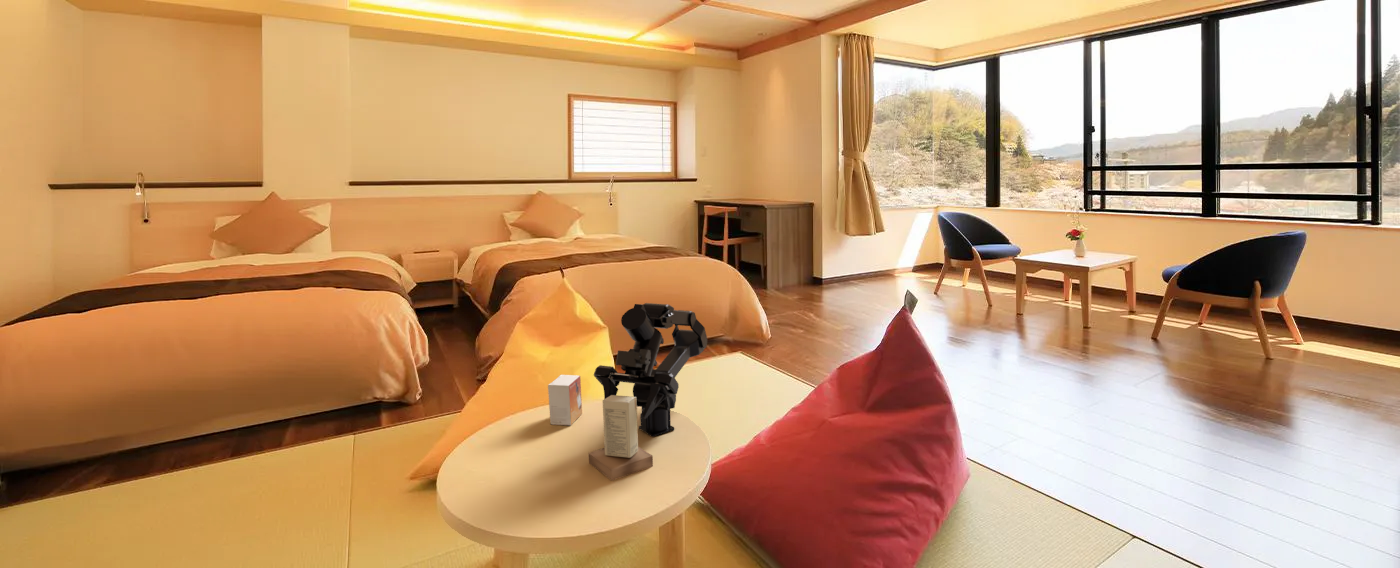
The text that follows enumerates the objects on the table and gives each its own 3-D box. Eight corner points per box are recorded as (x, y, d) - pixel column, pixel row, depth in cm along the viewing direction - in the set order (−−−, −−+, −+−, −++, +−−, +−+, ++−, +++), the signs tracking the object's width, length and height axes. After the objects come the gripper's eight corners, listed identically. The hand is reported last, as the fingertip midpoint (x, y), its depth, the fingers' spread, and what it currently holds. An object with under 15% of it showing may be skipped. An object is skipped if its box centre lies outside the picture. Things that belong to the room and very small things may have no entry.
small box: (571, 426, 157) (568, 385, 155) (549, 424, 158) (547, 384, 156) (583, 413, 165) (580, 375, 163) (562, 412, 166) (560, 374, 164)
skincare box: (638, 451, 138) (638, 396, 136) (630, 458, 134) (630, 402, 132) (611, 447, 140) (611, 393, 138) (602, 455, 136) (602, 399, 134)
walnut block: (629, 452, 144) (628, 440, 143) (653, 468, 136) (652, 455, 135) (589, 465, 138) (588, 452, 137) (611, 483, 130) (611, 469, 130)
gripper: (595, 331, 143) (572, 394, 135) (672, 337, 136) (652, 405, 128) (613, 354, 151) (592, 415, 143) (686, 361, 145) (668, 426, 137)
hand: (625, 415), depth 138 cm, fingers open, 9 cm apart
